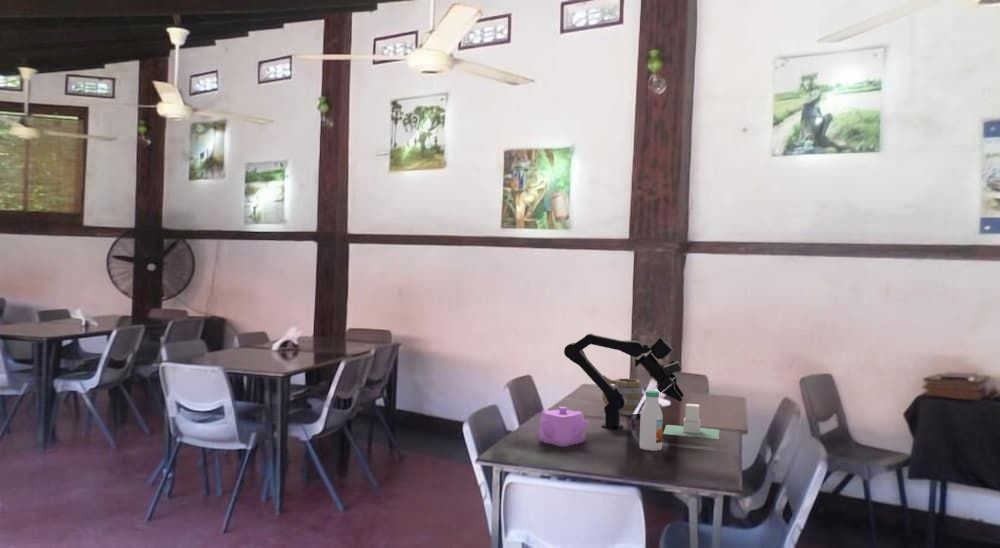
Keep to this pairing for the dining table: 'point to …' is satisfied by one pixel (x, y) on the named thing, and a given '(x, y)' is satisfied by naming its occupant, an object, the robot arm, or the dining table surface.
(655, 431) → the milk bottle
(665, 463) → the dining table surface
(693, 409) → the plug housing
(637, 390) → the tankard
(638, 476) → the dining table surface
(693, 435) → the board
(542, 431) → the pink lidded box
